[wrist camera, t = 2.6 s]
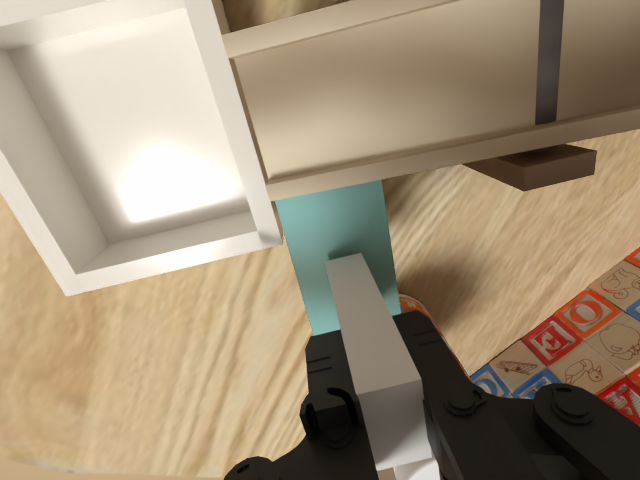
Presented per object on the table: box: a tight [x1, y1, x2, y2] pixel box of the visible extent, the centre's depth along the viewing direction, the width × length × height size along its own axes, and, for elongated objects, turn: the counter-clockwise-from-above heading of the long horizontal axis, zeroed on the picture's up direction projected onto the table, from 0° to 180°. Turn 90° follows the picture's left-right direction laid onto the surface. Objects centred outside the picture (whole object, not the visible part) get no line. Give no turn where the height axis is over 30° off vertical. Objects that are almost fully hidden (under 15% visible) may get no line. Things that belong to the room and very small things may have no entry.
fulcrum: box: [462, 144, 597, 191], centre depth 14 cm, size 9×5×9 cm, turn 12°
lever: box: [221, 0, 640, 336], centre depth 12 cm, size 12×19×3 cm, turn 102°
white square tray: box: [0, 0, 283, 296], centre depth 16 cm, size 12×11×4 cm
